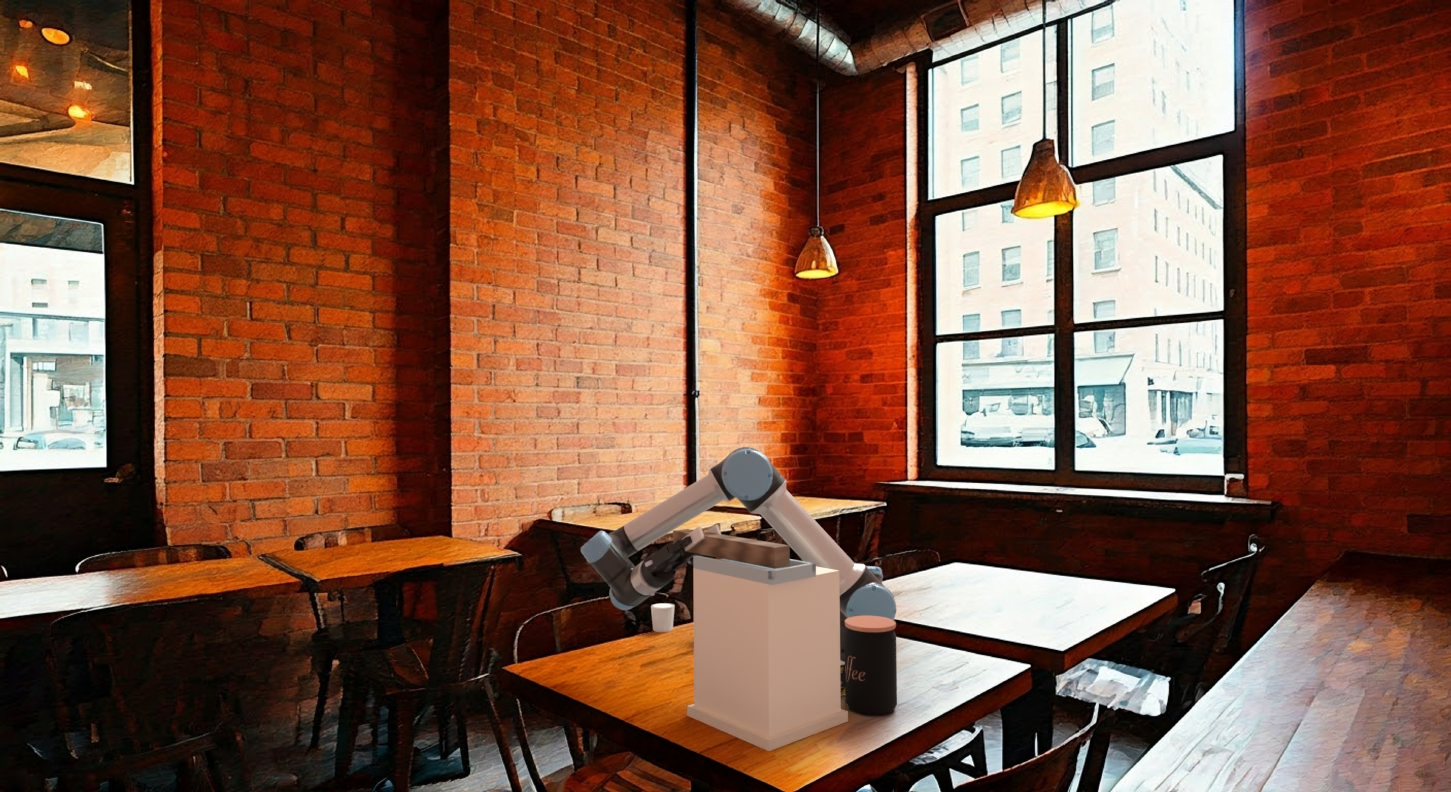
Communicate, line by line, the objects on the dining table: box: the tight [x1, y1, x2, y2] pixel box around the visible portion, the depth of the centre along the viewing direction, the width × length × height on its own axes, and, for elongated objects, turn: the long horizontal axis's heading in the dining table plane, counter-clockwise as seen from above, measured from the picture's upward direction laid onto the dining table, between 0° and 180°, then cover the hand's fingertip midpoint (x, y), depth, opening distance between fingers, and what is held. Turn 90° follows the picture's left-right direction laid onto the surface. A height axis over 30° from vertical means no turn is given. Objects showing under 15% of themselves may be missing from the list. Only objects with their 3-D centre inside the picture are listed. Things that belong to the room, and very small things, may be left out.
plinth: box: [686, 566, 849, 752], centre depth 164 cm, size 24×22×30 cm
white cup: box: [650, 602, 675, 633], centre depth 233 cm, size 7×7×7 cm
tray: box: [692, 556, 816, 585], centre depth 161 cm, size 23×12×2 cm, turn 41°
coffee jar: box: [844, 616, 898, 717], centre depth 169 cm, size 11×11×18 cm
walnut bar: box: [672, 528, 791, 569], centre depth 167 cm, size 32×4×4 cm, turn 41°
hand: (709, 531), depth 171 cm, fingers closed on walnut bar, 4 cm apart
